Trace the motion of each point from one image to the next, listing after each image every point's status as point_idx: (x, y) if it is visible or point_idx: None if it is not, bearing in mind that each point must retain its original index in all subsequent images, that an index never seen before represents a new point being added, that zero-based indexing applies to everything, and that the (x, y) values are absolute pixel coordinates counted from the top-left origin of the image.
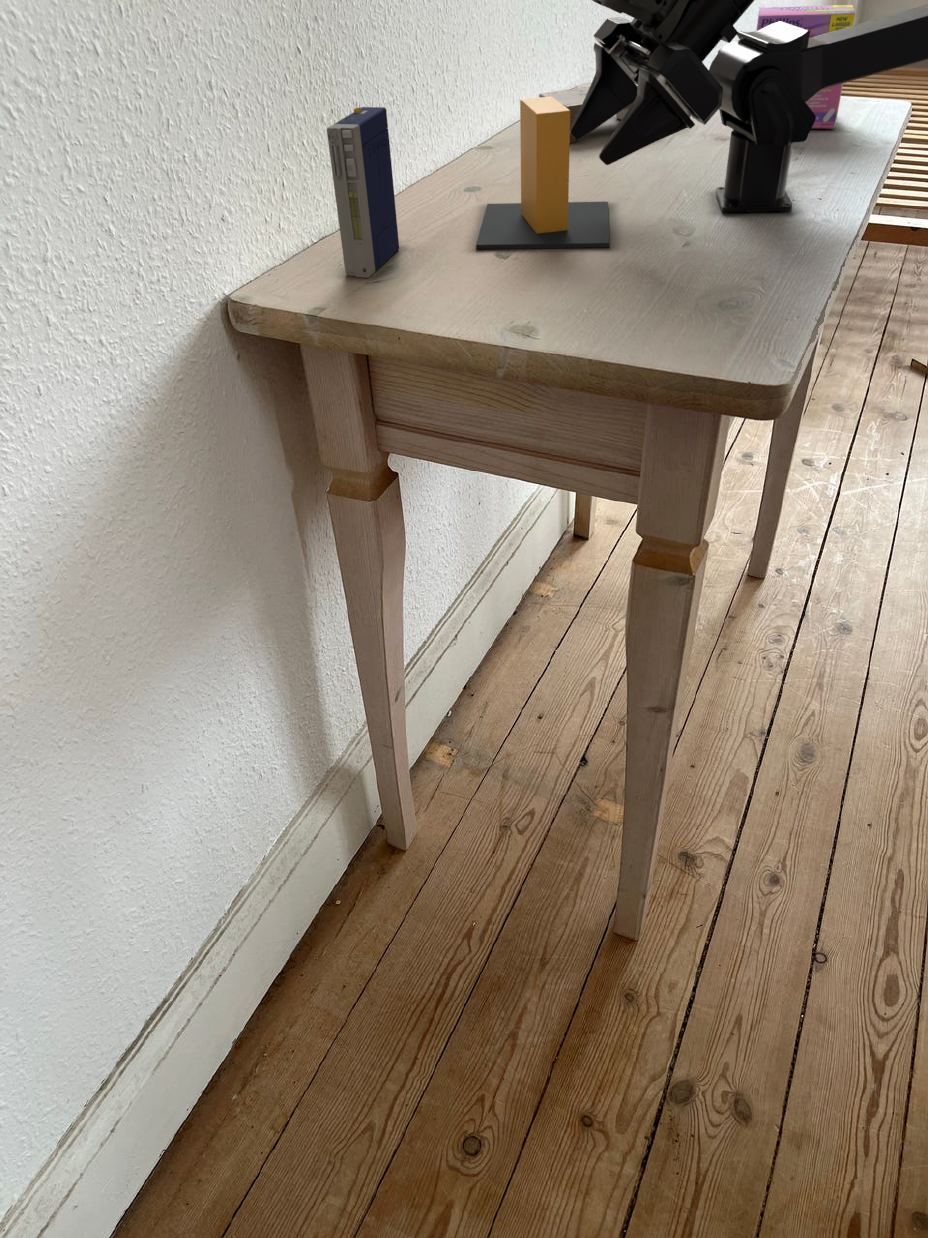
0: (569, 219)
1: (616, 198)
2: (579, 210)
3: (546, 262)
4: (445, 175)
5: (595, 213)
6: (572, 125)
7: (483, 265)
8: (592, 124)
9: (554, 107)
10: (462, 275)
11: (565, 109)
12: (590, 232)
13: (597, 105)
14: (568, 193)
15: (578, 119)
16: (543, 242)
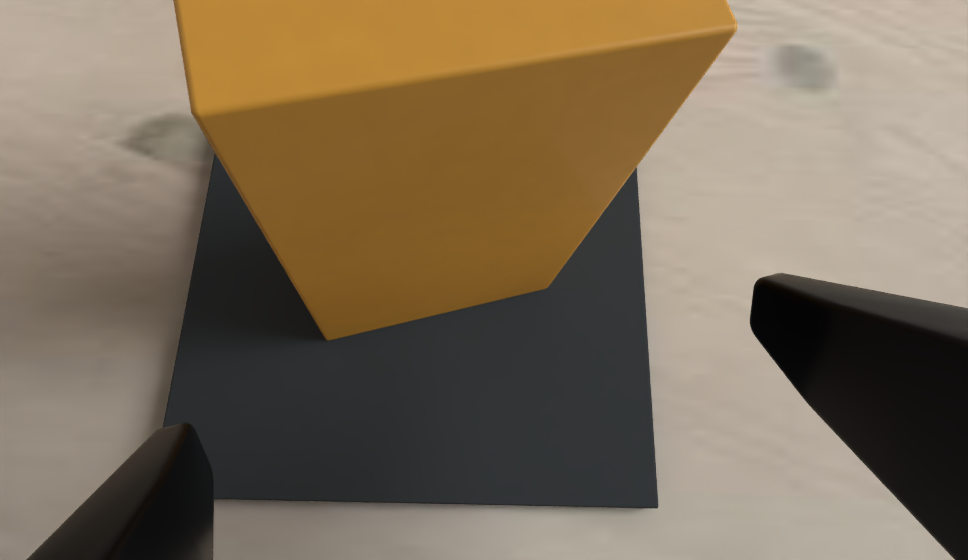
0: (451, 351)
1: (743, 547)
2: (552, 391)
3: (57, 266)
4: (928, 2)
5: (510, 452)
6: (803, 279)
7: (85, 83)
8: (831, 400)
9: (334, 9)
10: (12, 28)
11: (241, 80)
12: (290, 425)
13: (945, 420)
14: (310, 307)
15: (811, 301)
16: (212, 255)
